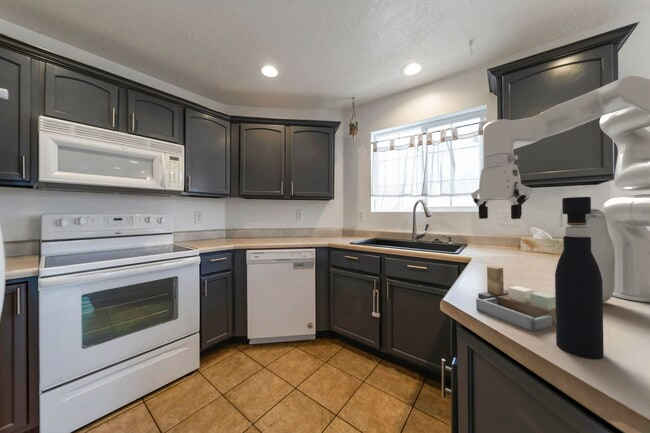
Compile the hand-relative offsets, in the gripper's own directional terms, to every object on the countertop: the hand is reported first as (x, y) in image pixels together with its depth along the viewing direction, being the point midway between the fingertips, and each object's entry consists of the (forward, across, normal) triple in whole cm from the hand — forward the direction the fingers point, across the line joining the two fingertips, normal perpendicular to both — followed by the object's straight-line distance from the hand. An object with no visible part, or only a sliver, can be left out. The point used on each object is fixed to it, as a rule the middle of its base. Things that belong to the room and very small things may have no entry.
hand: (498, 218), depth 73 cm
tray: (+25, -8, +8) cm, 28 cm away
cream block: (+22, -7, +1) cm, 23 cm away
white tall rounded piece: (+25, -10, -23) cm, 36 cm away
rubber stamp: (+26, +2, -1) cm, 26 cm away
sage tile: (+22, -12, +2) cm, 25 cm away
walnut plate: (+25, -9, -1) cm, 27 cm away
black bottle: (+26, -23, +12) cm, 37 cm away
